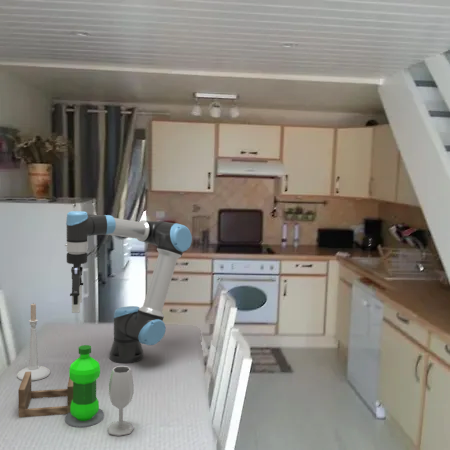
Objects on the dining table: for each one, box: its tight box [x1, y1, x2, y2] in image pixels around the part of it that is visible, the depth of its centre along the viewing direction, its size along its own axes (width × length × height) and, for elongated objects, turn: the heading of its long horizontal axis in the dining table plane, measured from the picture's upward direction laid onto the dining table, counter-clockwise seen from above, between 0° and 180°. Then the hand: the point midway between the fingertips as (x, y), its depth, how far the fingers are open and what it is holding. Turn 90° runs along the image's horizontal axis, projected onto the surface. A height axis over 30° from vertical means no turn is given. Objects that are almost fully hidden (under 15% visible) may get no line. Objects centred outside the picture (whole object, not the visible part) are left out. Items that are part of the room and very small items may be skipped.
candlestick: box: [16, 302, 51, 382], centre depth 203 cm, size 13×13×30 cm
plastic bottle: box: [68, 344, 101, 421], centre depth 170 cm, size 10×10×25 cm
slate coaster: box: [64, 408, 105, 428], centre depth 172 cm, size 13×13×1 cm
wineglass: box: [106, 365, 135, 437], centre depth 164 cm, size 9×9×21 cm
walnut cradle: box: [17, 372, 73, 419], centre depth 179 cm, size 18×15×10 cm
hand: (76, 307), depth 190 cm, fingers open, 13 cm apart
